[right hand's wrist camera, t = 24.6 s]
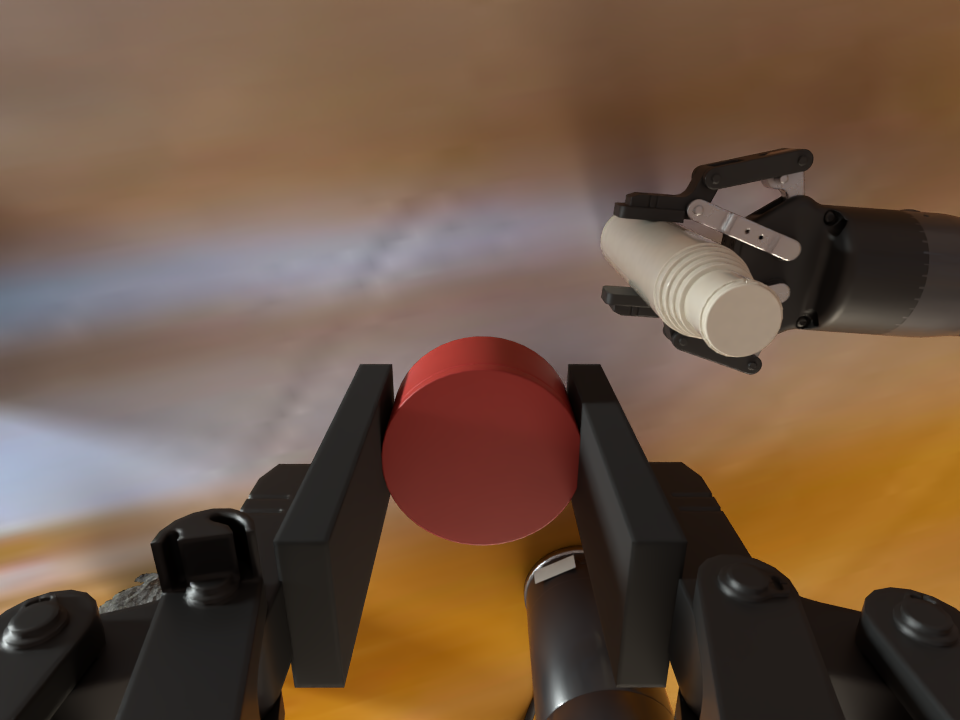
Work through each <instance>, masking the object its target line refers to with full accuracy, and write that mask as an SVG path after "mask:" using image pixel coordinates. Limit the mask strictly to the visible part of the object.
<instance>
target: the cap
mask: <svg viewBox="0 0 960 720" xmlns="http://www.w3.org/2000/svg"><path fill="white" fill-rule="evenodd" d="M579 450H580V432H579V429H578V426H577V422H576V419H575V416H574V413H573V410H572V407H571V404H570V401H569V397H568V394H567V392H566V389H565V386H564V384H563V382H562V381H561V379H560V377H559V375H558V374H557V373H556V371H555V370H554V369H553V367H552V366H551V365H550V364H549V363H548V362H547V361H546V360H545V359H544V358H542V357H541V356H540V355H538V354H537V353H536V352H534V351H532V350H531V349H529V348H527V347H525V346H523V345H521V344H518V343H516V342H513V341H510V340H506V339H502V338H496V337H468V338H463V339H458V340H454V341H451V342H449V343H446V344H443V345H441V346H439V347H437V348H435V349H434V350H432V351H430V352H429V353H427V354H426V355H425V356H423V357H422V358H421V359H420V360H419V361H418V362H417V363H416V364H414V366H413V367H412V368H411V369H410V371H409V372H408V373H407V374H406V376H405V378H404V379H403V381H402V383H401V385H400V387H399V390H398V392H397V395H396V398H395V402H394V405H393V408H392V411H391V415H390V418H389V421H388V425H387V428H386V431H385V435H384V439H383V442H382V451H381V457H382V470H383V475H384V479H385V482H386V485H387V488H388V490H389V492H390V494H391V495H392V497H393V499H394V501H395V502H396V503H397V505H398V506H399V508H400V509H401V510H402V511H403V512H404V513H405V514H406V515H407V516H408V517H409V518H410V519H411V520H412V521H413V522H415V523H416V524H417V525H418V526H420V527H422V528H423V529H425V530H426V531H428V532H430V533H432V534H434V535H436V536H438V537H441V538H444V539H447V540H449V541H453V542H457V543H462V544H470V545H495V544H502V543H507V542H512V541H515V540H518V539H521V538H524V537H526V536H528V535H530V534H533V533H535V532H536V531H538V530H540V529H541V528H543V527H545V526H546V525H547V524H549V523H550V522H551V521H552V520H554V519H555V518H556V517H557V516H558V515H559V514H560V513H561V512H562V511H563V509H564V508H565V507H566V506H567V504H568V503H569V502H570V500H571V498H572V497H573V495H574V493H575V491H576V489H577V480H578V465H579Z"/></svg>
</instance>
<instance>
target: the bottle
mask: <svg viewBox="0 0 960 720" xmlns="http://www.w3.org/2000/svg"><path fill="white" fill-rule="evenodd" d="M601 250H602V253H603V256H604V258H605V259H606V261H607V262H608V263H609V264H610V265H611V266H612V267H613V268H614V269H615V270H616V271H617V273H618V274H619V275H620V276H621V277H622V278H623V279H624V280H625V281H626V282H627V283H628V284H629V285H630V286H631V287H632V289H633V290H634V291H635V292H636V293H637V294H638V295H639V296H640V297H641V298H642V299H643V300H644V301H645V302H646V304H647V305H648V306H649V307H650V308H651V309H652V310H653V311H654V312H655V313H656V314H657V315H658V316H659V317H660V318H661V320H662V321H663V322H664V323H665V324H666V325H668V326H669V327H670V328H672V329H673V330H675V331H677V332H678V333H681V334H683V335H686V336H689V337H695V338H700V339H703V340H704V341H705V342H706V344H707V345H708V346H709V347H710V348H711V349H713V350H714V351H715V352H717V353H719V354H722V355H724V356H729V357H744V356H749V355H752V354H755V353H757V352H759V351H761V350H762V349H764V348H765V347H766V346H768V345H769V344H770V343H771V342H772V340H773V339H774V338H775V336H776V335H777V333H778V331H779V329H780V327H781V323H782V319H783V307H782V304H781V301H780V298H779V297H778V295H777V294H776V292H775V291H774V290H772V289H771V288H770V287H769V286H767V285H765V284H763V283H762V282H759V281H756V280H754V279H753V277H752V275H751V273H750V271H749V268H748V267H747V265H746V263H745V262H744V261H743V260H742V259H741V258H740V257H739V256H738V255H737V254H736V253H735V252H734V251H732V250H731V249H729V248H727V247H725V246H723V245H721V244H719V243H717V242H715V241H713V240H711V239H708V238H706V237H704V236H702V235H700V234H698V233H696V232H694V231H692V230H690V229H687V228H685V227H683V226H681V225H679V224H677V223H675V222H668V221H651V220H637V219H625V218H619V217H617V216H615V215H613V216H612V217H611V218H610V219H609V220H608V222H607V223H606V225H605V227H604V229H603V231H602V235H601Z"/></svg>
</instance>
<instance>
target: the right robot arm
mask: <svg viewBox="0 0 960 720" xmlns="http://www.w3.org/2000/svg"><path fill="white" fill-rule="evenodd" d="M567 394H568V397H569V401H570V404H571V407H572V410H573V413H574V416H575V419H576V422H577V426H578V429H579V432H580V450H579V465H578V480H577V489H576V491H575V493H574V495H573V497H572V498H571V501H572V505H573V509H574V513H575V517H576V522H577V526H578V530H579V534H580V538H581V542H582V547H583V551H584V555H585V559H586V563H587V567H588V572H589V576H590V580H591V584H592V588H593V592H594V597H595V601H596V605H597V609H598V613H599V618H600V622H601V626H602V630H603V634H604V638H605V643H606V647H607V651H608V655H609V659H610V663H611V668H612V672H613V676H614V680H615V684H616V687H638V688H666V681H667V675H668V668H669V662H671V665H672V668H673V671H674V674H675V677H676V679H677V682H678V685H679V691H678V697H677V703H676V710H675V716H674V720H960V611H958V610H957V609H956V608H954V607H952V606H950V605H948V604H946V603H944V602H942V601H940V600H938V599H937V598H935V597H932V596H929V595H926V594H924V593H920V592H917V591H913V590H910V589H901V588H892V587H889V588H884V589H878V590H874V591H873V592H872V593H871V594H870V595H868V596H867V597H866V598H865V602H864V605H863V608H862V612H860V611H856V610H851V609H847V608H843V607H838V606H834V605H829V604H825V603H820V602H817V601H813V600H810V599H807V598H803V597H801V596H799V594H798V592H797V590H796V589H795V587H794V586H793V584H792V583H791V581H790V580H789V579H788V578H787V577H786V576H784V575H783V574H782V573H781V572H780V571H778V570H777V569H776V568H774V567H772V566H770V565H768V564H766V563H764V562H762V561H760V560H758V559H754V558H752V557H751V556H750V554H749V553H748V551H747V549H746V548H745V546H744V544H743V543H742V541H741V540H740V538H739V536H738V535H737V533H736V532H735V530H734V528H733V527H732V525H731V524H730V522H729V520H728V519H727V517H726V516H725V514H724V512H723V511H721V509H720V508H721V507H720V506H719V504H718V503H717V501H716V499H715V498H714V497H712V493H711V491H710V490H709V488H708V487H707V485H706V483H705V482H704V480H703V479H702V477H701V476H700V475H698V474H697V473H696V472H694V471H693V470H692V469H690V468H689V467H687V466H686V465H685V464H683V463H682V462H648V460H647V458H646V456H645V454H644V452H643V450H642V448H641V446H640V444H639V442H638V440H637V438H636V436H635V434H634V432H633V430H632V428H631V426H630V424H629V422H628V420H627V418H626V416H625V414H624V412H623V410H622V408H621V405H620V403H619V401H618V399H617V397H616V395H615V393H614V391H613V389H612V387H611V385H610V383H609V381H608V379H607V377H606V375H605V373H604V371H603V369H602V367H601V365H600V364H568V379H567ZM393 405H394V390H393V372H392V364H360V366H359V368H358V370H357V372H356V374H355V376H354V378H353V380H352V382H351V384H350V386H349V388H348V390H347V392H346V394H345V396H344V398H343V400H342V402H341V404H340V406H339V408H338V410H337V412H336V414H335V416H334V419H333V421H332V423H331V425H330V427H329V429H328V431H327V433H326V435H325V437H324V439H323V441H322V443H321V445H320V447H319V449H318V451H317V453H316V455H315V457H314V459H313V461H312V463H311V464H278V465H277V466H276V467H274V468H273V469H272V470H270V471H269V472H268V473H266V474H265V475H264V476H262V477H261V478H260V479H259V480H258V482H257V483H256V485H255V486H254V488H253V490H252V491H251V493H250V495H249V499H246V501H245V503H244V504H243V506H242V508H241V509H240V511H238V510H235V509H231V508H226V509H209V510H204V511H200V512H195V513H192V514H190V515H187V516H185V517H183V518H180V519H178V520H176V521H174V522H172V523H171V524H170V525H168V526H167V527H165V528H164V529H163V530H161V531H160V532H159V533H158V534H157V536H156V537H155V538H154V540H153V541H152V542H151V548H152V552H153V556H154V560H155V565H156V569H157V573H158V577H159V581H160V585H161V590H162V595H161V598H160V599H159V600H155V601H152V602H149V603H145V604H142V605H138V606H133V607H129V608H124V609H120V610H116V611H111V612H107V613H102V614H99V610H98V607H97V603H96V600H94V599H93V598H92V597H91V596H90V595H89V594H88V593H86V592H80V591H75V590H65V591H56V592H49V593H46V594H43V595H40V596H37V597H34V598H31V599H28V600H26V601H24V602H22V603H20V604H18V605H16V606H14V607H12V608H10V609H9V610H7V611H5V612H4V613H3V614H1V615H0V720H284V718H285V710H284V704H283V697H282V691H281V689H282V686H283V684H284V681H285V678H286V675H287V672H288V669H289V666H290V664H291V666H292V672H293V679H294V685H295V688H344V686H345V682H346V677H347V673H348V669H349V665H350V661H351V657H352V652H353V648H354V644H355V640H356V636H357V632H358V627H359V623H360V619H361V615H362V611H363V607H364V602H365V598H366V594H367V590H368V586H369V582H370V577H371V573H372V569H373V565H374V561H375V557H376V552H377V548H378V544H379V540H380V536H381V532H382V527H383V523H384V519H385V515H386V511H387V507H388V502H389V498H390V492H389V490H388V488H387V485H386V482H385V479H384V475H383V470H382V457H381V451H382V442H383V439H384V435H385V431H386V428H387V425H388V421H389V418H390V415H391V411H392V408H393Z"/></svg>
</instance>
